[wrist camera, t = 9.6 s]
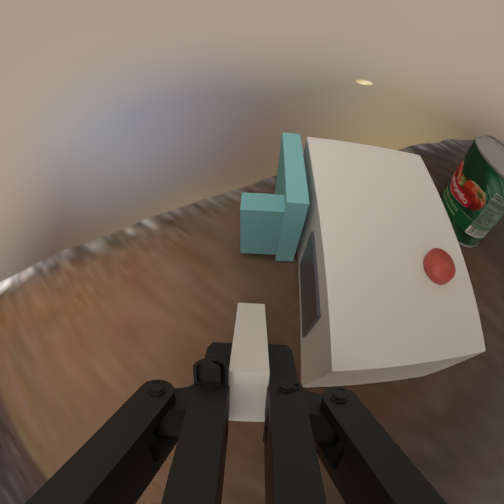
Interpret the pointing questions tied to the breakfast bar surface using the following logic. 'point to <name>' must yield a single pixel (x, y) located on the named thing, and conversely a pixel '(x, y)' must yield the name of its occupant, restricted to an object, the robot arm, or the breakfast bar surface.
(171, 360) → the breakfast bar surface
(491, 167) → the canned tomato
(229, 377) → the robot arm
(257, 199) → the door
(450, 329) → the block
